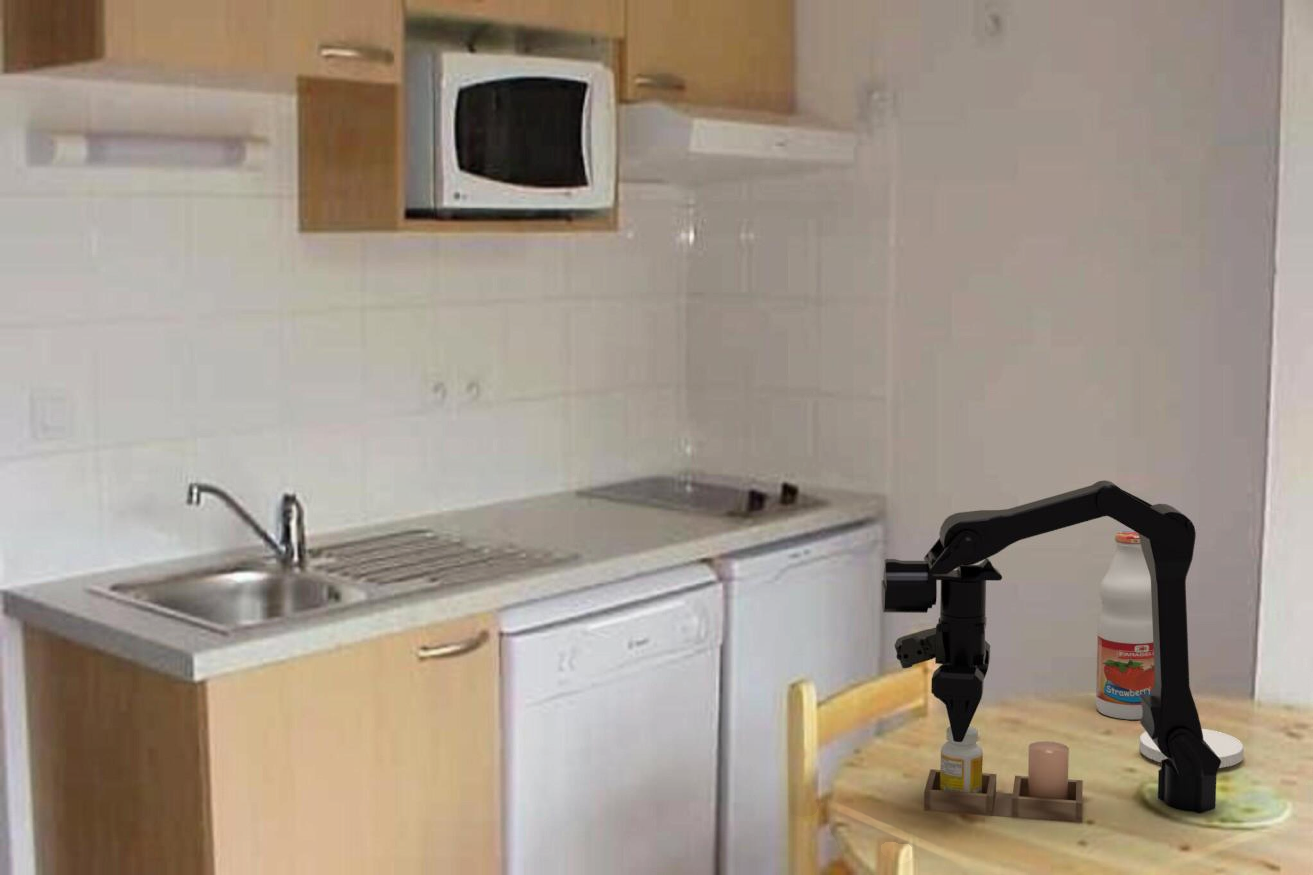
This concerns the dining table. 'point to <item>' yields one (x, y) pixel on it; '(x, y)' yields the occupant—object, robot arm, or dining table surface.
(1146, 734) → the plastic lid
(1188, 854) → the dining table surface
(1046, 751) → the pink cylinder
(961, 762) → the supplement bottle
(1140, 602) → the fruit juice
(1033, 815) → the rack
